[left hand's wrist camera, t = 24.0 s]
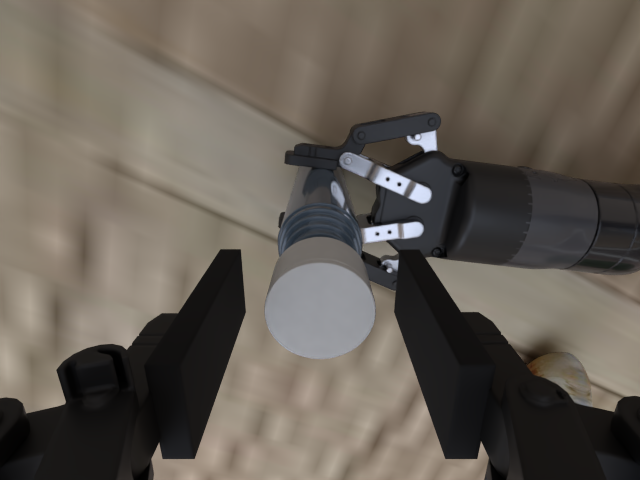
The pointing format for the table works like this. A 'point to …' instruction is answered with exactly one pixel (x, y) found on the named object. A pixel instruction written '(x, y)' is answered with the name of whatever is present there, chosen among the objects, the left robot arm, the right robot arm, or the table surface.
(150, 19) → the table surface
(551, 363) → the seashell
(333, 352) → the cap
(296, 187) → the bottle
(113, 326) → the table surface
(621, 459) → the left robot arm
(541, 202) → the right robot arm
